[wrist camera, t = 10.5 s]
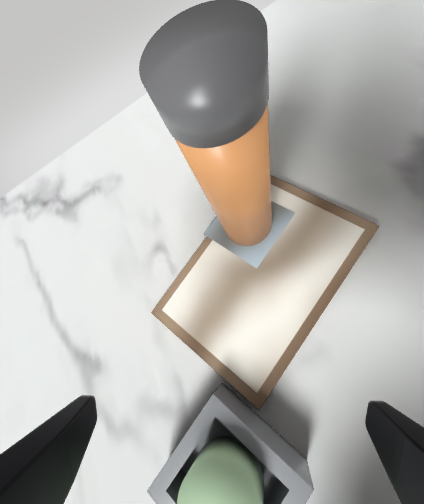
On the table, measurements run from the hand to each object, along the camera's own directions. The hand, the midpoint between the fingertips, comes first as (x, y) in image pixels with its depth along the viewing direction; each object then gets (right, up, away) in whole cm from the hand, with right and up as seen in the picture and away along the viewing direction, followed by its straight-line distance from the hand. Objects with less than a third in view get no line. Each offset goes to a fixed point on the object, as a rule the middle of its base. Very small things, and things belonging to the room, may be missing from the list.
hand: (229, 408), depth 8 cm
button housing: (+1, -10, +9) cm, 13 cm away
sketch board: (+3, +3, +12) cm, 13 cm away
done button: (0, -9, +7) cm, 11 cm away
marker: (+2, +8, +13) cm, 15 cm away
